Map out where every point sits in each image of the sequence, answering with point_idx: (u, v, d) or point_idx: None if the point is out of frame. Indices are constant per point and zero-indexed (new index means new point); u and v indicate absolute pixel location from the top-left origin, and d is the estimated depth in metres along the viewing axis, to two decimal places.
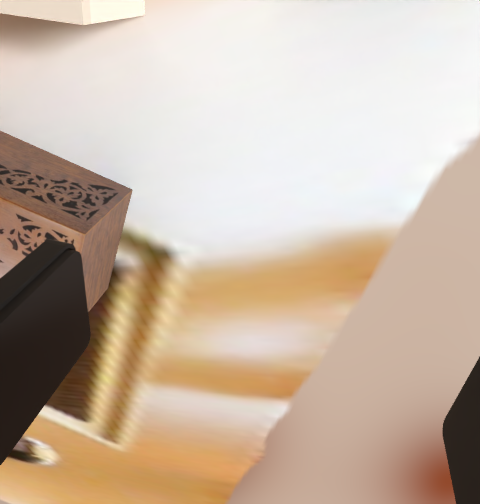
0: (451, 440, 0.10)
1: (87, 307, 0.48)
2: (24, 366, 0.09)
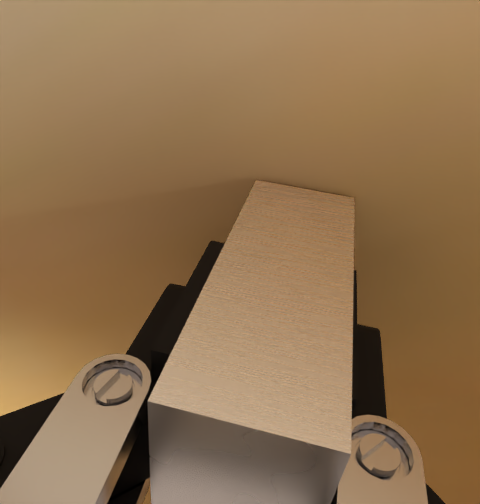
0: None
1: None
2: None
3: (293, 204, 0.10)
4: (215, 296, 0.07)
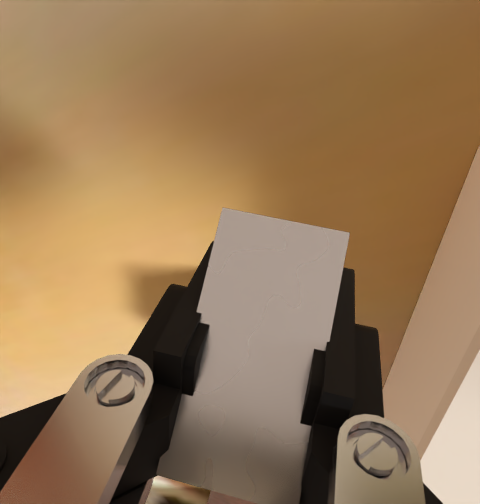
0: None
1: None
2: None
3: None
4: None
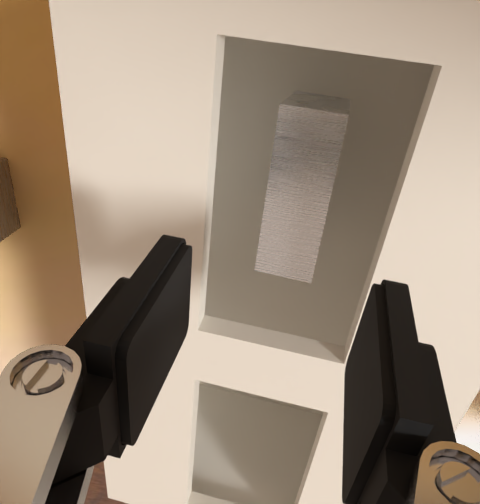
0: (347, 376, 0.11)
1: None
2: (155, 352, 0.09)
3: None
4: None
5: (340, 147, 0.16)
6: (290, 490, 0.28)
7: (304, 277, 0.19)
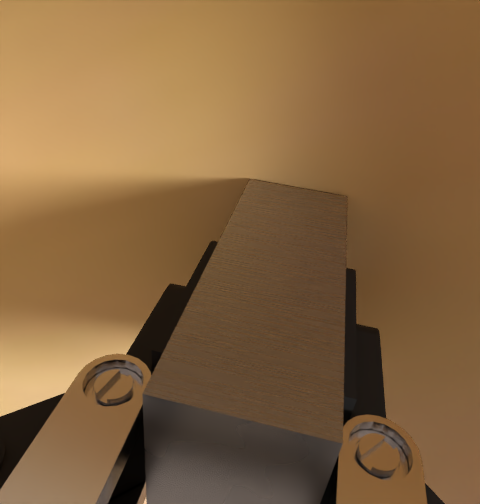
0: None
1: None
2: None
3: None
4: None
5: None
6: None
7: None
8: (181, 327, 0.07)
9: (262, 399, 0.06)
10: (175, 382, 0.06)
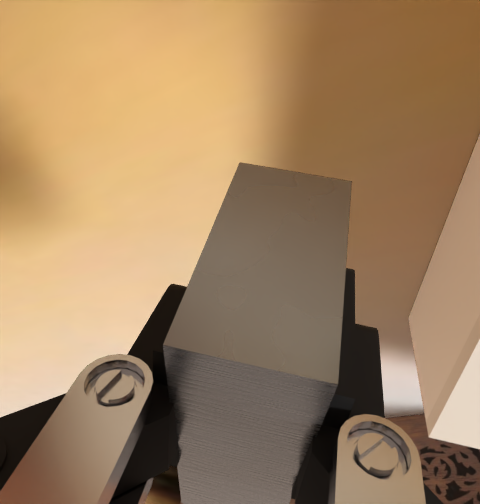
0: None
1: None
2: None
3: None
4: None
5: None
6: None
7: None
8: None
9: None
10: None
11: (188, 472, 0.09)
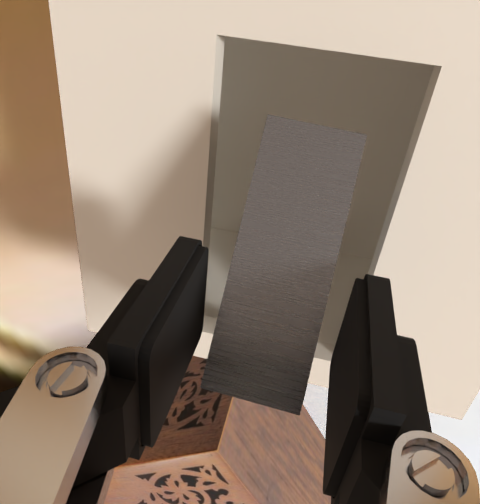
0: (332, 370, 0.11)
1: None
2: (174, 353, 0.09)
3: None
4: None
5: None
6: (340, 324, 0.20)
7: None
8: None
9: None
10: None
11: (232, 300, 0.11)
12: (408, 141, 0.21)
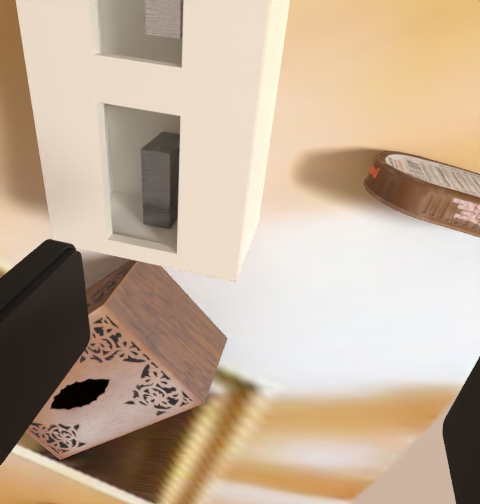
0: (451, 440, 0.10)
1: (208, 363, 0.48)
2: (24, 366, 0.09)
3: None
4: None
5: None
6: None
7: (175, 35, 0.30)
8: None
9: None
10: None
11: (145, 201, 0.38)
12: None
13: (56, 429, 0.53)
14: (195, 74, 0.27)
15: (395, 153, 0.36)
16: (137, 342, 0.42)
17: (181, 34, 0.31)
